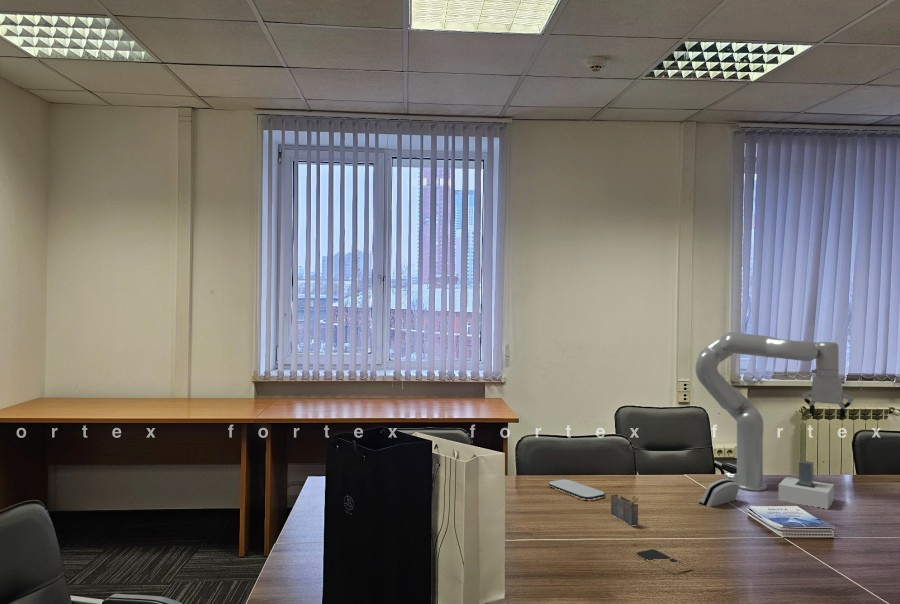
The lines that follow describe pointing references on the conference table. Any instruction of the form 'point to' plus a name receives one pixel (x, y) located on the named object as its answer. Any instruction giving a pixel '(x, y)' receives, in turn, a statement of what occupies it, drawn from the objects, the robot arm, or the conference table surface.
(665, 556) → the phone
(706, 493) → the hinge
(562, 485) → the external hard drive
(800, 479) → the bracket bar
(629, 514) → the grey upright flat piece
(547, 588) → the conference table surface
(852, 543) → the conference table surface
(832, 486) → the well block
